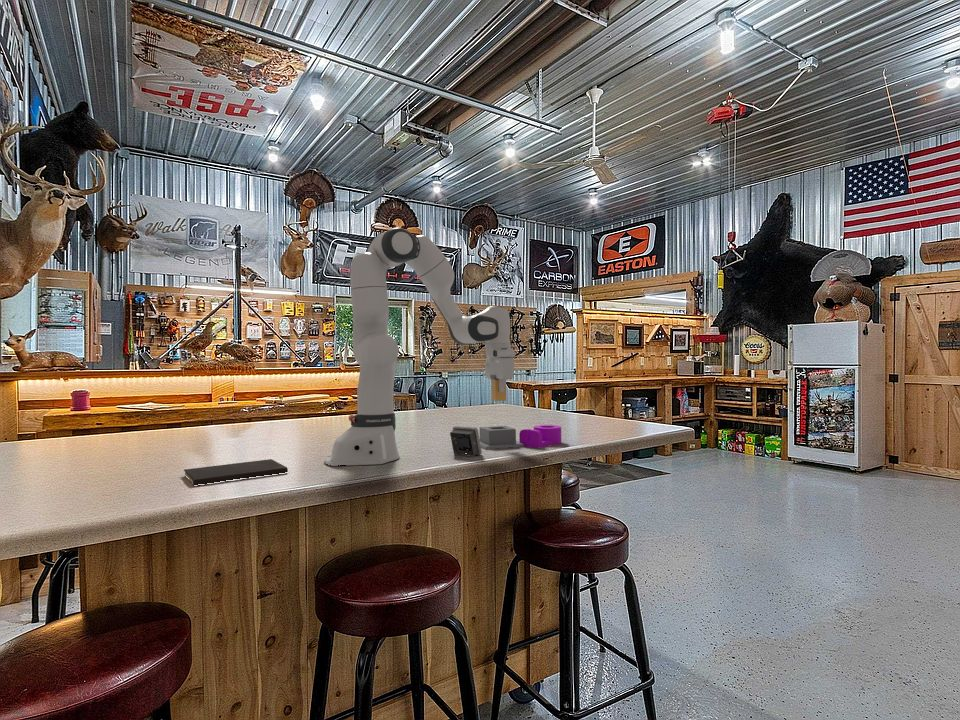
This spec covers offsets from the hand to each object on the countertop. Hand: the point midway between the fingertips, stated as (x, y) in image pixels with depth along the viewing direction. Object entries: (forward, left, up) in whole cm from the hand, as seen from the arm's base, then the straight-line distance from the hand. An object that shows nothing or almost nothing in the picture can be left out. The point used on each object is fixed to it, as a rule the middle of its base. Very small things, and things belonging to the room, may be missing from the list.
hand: (498, 391), depth 187 cm
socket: (0, +1, -19) cm, 19 cm away
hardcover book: (-83, -17, -20) cm, 87 cm away
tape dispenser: (+16, -3, -20) cm, 25 cm away
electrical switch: (-16, -13, -19) cm, 28 cm away
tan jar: (0, 0, -3) cm, 3 cm away
